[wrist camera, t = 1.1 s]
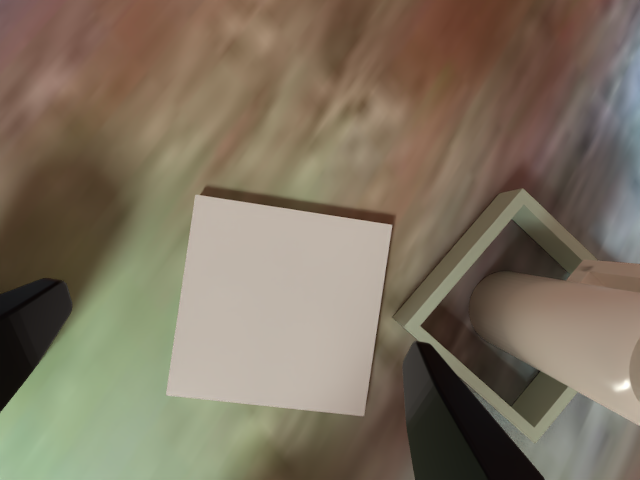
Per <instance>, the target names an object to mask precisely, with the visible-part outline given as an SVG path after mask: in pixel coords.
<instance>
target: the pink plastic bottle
mask: <svg viewBox="0 0 640 480" xmlns="http://www.w3.org/2000/svg"><path fill="white" fill-rule="evenodd" d="M469 317H470V321H471V323H472V326H473V328H474V329H475V331H476V332H477V334H478V335H479V336H480V337H481V338H483V339H484V340H486V341H487V342H489V343H491V344H493V345H494V346H496V347H498V348H500V349H502V350H503V351H505V352H507V353H509V354H511V355H512V356H514V357H516V358H518V359H520V360H521V361H523V362H525V363H527V364H529V365H530V366H532V367H534V368H536V369H538V370H539V371H541V372H543V373H545V374H547V375H549V376H550V377H552V378H554V379H556V380H558V381H559V382H561V383H563V384H565V385H567V386H568V387H570V388H572V389H574V390H576V391H577V392H579V393H581V394H583V395H585V396H586V397H588V398H590V399H592V400H594V401H595V402H597V403H599V404H601V405H603V406H604V407H606V408H608V409H610V410H612V411H614V412H615V413H617V414H619V415H621V416H623V417H624V418H626V419H628V420H630V421H632V422H633V423H635V424H637V425H639V426H640V264H633V263H621V262H609V261H597V260H583V261H582V262H581V263H580V264H579V266H578V267H577V268H576V269H575V270H574V272H573V273H572V274H571V275H570V276H569V277H568V279H567V280H566V281H565V280H559V279H553V278H547V277H541V276H535V275H529V274H523V273H517V272H510V271H501V272H496V273H493V274H491V275H489V276H487V277H485V278H484V279H483V280H482V281H481V282H480V283H479V284H478V285H477V286H476V288H475V289H474V291H473V293H472V295H471V298H470V302H469Z"/></svg>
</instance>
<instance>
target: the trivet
mask: <svg viewBox="0 0 640 480" xmlns="http://www.w3.org/2000/svg"><path fill="white" fill-rule="evenodd" d="M391 231H392V225H390V224H383V223H377V222H370V221H364V220H357V219H351V218H345V217H338V216H332V215H325V214H319V213H312V212H306V211H299V210H293V209H286V208H280V207H273V206H267V205H260V204H254V203H247V202H241V201H234V200H228V199H221V198H215V197H208V196H202V195H195V202H194V208H193V215H192V222H191V229H190V236H189V242H188V249H187V256H186V263H185V270H184V276H183V283H182V290H181V297H180V303H179V310H178V317H177V324H176V331H175V337H174V344H173V351H172V358H171V365H170V371H169V378H168V385H167V392H166V395H168V396H177V397H187V398H196V399H206V400H215V401H225V402H234V403H243V404H253V405H262V406H272V407H281V408H291V409H300V410H310V411H319V412H328V413H338V414H347V415H357V416H364V413H365V406H366V399H367V393H368V386H369V379H370V372H371V366H372V359H373V352H374V345H375V339H376V332H377V325H378V318H379V312H380V305H381V298H382V291H383V285H384V278H385V271H386V264H387V258H388V251H389V244H390V237H391Z"/></svg>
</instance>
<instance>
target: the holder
mask: <svg viewBox="0 0 640 480" xmlns="http://www.w3.org/2000/svg"><path fill="white" fill-rule="evenodd" d="M511 219H512V220H513V221H515V222H516V223H517V224H518V225H519V226H520V227H521V228H522V229H523V230H524V231H525V232H526V233H527V234H528V235H529V236H530V237H531V238H533V239H534V240H535V241H536V242H537V243H538V244H539V245H540V246H541V247H542V248H543V249H544V250H545V251H546V252H547V253H548V254H549V255H550V256H552V257H553V258H554V259H555V260H556V261H557V262H558V263H559V264H560V265H561V266H562V267H563V268H564V269H565V270H566V271H567V272H568V273H570V274H572V273H573V272H574V270H575V269H576V268H577V267H578V266H579V264H580V263H581V262H582V261H583V260H597V259H596V258H595V257H594V256H593V255H592V254H591V253H590V252H589V251H588V250H587V249H586V248H585V247H584V246H583V245H582V244H581V243H580V242H579V241H578V240H576V239H575V238H574V237H573V236H572V235H571V234H570V233H569V232H568V231H567V230H566V229H565V228H564V227H563V226H562V225H561V224H560V223H559V222H558V221H557V220H556V219H555V218H553V217H552V216H551V215H550V214H549V213H548V212H547V211H546V210H545V209H544V208H543V207H542V206H541V205H540V204H539V203H538V202H537V201H536V200H535V199H534V198H533V197H532V196H531V195H529V194H528V193H527V192H526V191H525V190H524V189H523V188H522V189H517V190H512V191H508V192H503V193H499V194H498V196H497V197H496V198H495V199H494V200H493V201H492V202H491V204H490V205H489V206H488V207H487V208H486V209H485V211H484V212H483V213H482V214H481V215H480V216H479V218H478V219H477V220H476V221H475V222H474V223H473V225H472V226H471V227H470V228H469V229H468V230H467V231H466V233H465V234H464V235H463V236H462V237H461V238H460V240H459V241H458V242H457V243H456V244H455V245H454V247H453V248H452V249H451V250H450V251H449V252H448V254H447V255H446V256H445V257H444V258H443V259H442V260H441V262H440V263H439V264H438V265H437V266H436V267H435V269H434V270H433V271H432V272H431V273H430V274H429V276H428V277H427V278H426V279H425V280H424V281H423V283H422V284H421V285H420V286H419V287H418V288H417V289H416V291H415V292H414V293H413V294H412V295H411V296H410V298H409V299H408V300H407V301H406V302H405V303H404V305H403V306H402V307H401V308H400V309H399V310H398V312H397V313H396V314H395V315H394V316H393V317H392V318H393V319H394V320H396V321H397V322H398V323H399V324H400V325H401V326H402V327H403V328H405V329H406V330H407V331H408V332H409V333H410V334H411V335H413V336H414V337H415V338H416V339H417V340H418V341H420V342H426V343H429V344H431V345H432V346H433V347H434V348H435V350H436V351H437V352H438V353H439V354H440V355H441V357H442V358H443V359H444V360H445V361H446V363H447V364H448V365H449V366H450V367H451V368H452V370H453V371H454V372H455V373H456V374H457V375H458V376H459V377H460V378H461V379H462V380H463V381H464V382H466V383H467V384H468V385H469V386H470V387H471V388H472V389H473V390H475V391H476V392H477V393H478V394H479V395H480V396H481V397H482V398H484V399H485V400H486V401H487V402H488V403H489V404H490V405H491V406H493V407H494V408H495V409H496V410H497V411H498V412H499V413H500V414H502V415H503V416H504V417H505V418H506V419H507V420H508V421H510V422H511V423H512V424H513V425H514V426H515V427H516V428H518V429H519V430H520V431H521V432H522V433H523V434H524V435H526V436H527V437H528V438H529V439H530V440H531V441H532V442H534V443H536V442H537V441H538V440H539V438H540V437H541V436H542V435H543V434H544V432H545V431H546V430H547V429H548V427H549V426H550V425H551V424H552V423H553V421H554V420H555V419H556V418H557V417H558V415H559V414H560V413H561V412H562V410H563V409H564V408H565V407H566V406H567V404H568V403H569V402H570V401H571V399H572V398H573V397H574V396H575V395H576V393H577V391H576V390H574V389H572V388H570V387H568V386H567V385H565V384H563V383H561V382H559V381H558V380H556V379H554V378H552V377H550V376H549V375H547V374H545V373H543V372H541V371H540V373H539V374H538V375H537V376H536V377H535V379H534V380H533V381H532V382H531V383H530V385H529V386H528V387H527V388H526V389H525V391H524V392H523V393H522V394H521V395H520V397H519V398H518V399H517V400H516V401H515V403H514V404H513V405H512V406H511V407H510V406H509V405H508V404H507V403H506V402H505V401H504V400H503V399H501V398H500V397H499V396H498V395H497V394H496V393H495V392H494V391H492V390H491V389H490V388H489V387H488V386H487V385H486V384H485V383H484V382H482V381H481V380H480V379H479V378H478V377H477V376H476V375H475V374H473V373H472V372H471V371H470V370H469V369H468V368H467V367H466V366H464V365H463V364H462V363H461V362H460V361H459V360H458V359H457V358H455V357H454V356H453V355H452V354H451V353H450V352H449V351H448V350H446V349H445V348H444V347H443V346H442V345H441V344H440V343H439V342H438V341H436V340H435V339H434V338H433V337H432V336H431V335H430V334H429V333H427V332H426V331H425V330H424V329H423V328H422V327H421V326H420V325H421V324H422V323H423V322H424V321H425V319H426V318H427V317H428V316H429V315H430V314H431V312H432V311H433V310H434V309H435V308H436V307H437V305H438V304H439V303H440V302H441V301H442V300H443V298H444V297H445V296H446V295H447V294H448V293H449V291H450V290H451V289H452V288H453V287H454V286H455V284H456V283H457V282H458V281H459V280H460V279H461V277H462V276H463V275H464V274H465V273H466V272H467V270H468V269H469V268H470V267H471V266H472V265H473V263H474V262H475V261H476V260H477V259H478V258H479V256H480V255H481V254H482V253H483V252H484V251H485V249H486V248H487V247H488V246H489V245H490V244H491V242H492V241H493V240H494V239H495V238H496V237H497V235H498V234H499V233H500V232H501V231H502V229H503V228H504V227H505V226H506V225H507V224H508V222H509V221H510V220H511ZM597 261H598V260H597Z"/></svg>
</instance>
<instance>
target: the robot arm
mask: <svg viewBox="0 0 640 480" xmlns="http://www.w3.org/2000/svg"><path fill="white" fill-rule="evenodd" d="M71 311H72V301H71V297H70V294H69V290H68V287H67V284H66V283H65V282H64V281H62V280H57V279H51V278H43V279H40V280H37V281H35V282H32V283H29V284H27V285H24V286H21V287H19V288H16V289H13V290H11V291H8V292H6V293H3V294H0V412H1V411H2V410H3V408H4V407H5V406H6V405H7V403H8V402H9V401H10V400H11V398H12V397H13V396H14V394H15V393H16V392H17V391H18V389H19V388H20V387H21V386H22V384H23V383H24V382H25V381H26V379H27V378H28V377H29V375H30V374H31V373H32V371H33V370H34V369H35V367H36V366H37V364H38V363H39V361H40V360H41V358H42V357H43V355H44V354H45V352H46V351H47V349H48V347H49V346H50V344H51V343H52V341H53V340H54V338H55V337H56V335H57V334H58V332H59V330H60V329H61V327H62V326H63V324H64V323H65V321H66V320H67V318H68V317H69V315H70V313H71ZM403 383H404V399H405V415H406V426H407V433H408V440H409V446H410V452H411V458H412V464H413V470H414V476H415V480H545V479H544V477H543V476H542V475H541V474H540V472H539V471H538V470H537V469H536V468H535V466H534V465H533V464H532V463H531V462H530V461H529V459H528V458H527V457H526V456H525V455H524V453H523V452H522V451H521V450H520V449H519V448H518V446H517V445H516V444H515V443H514V442H513V440H512V439H511V438H510V437H509V436H508V435H507V433H506V432H505V431H504V430H503V429H502V427H501V426H500V425H499V424H498V423H497V422H496V420H495V419H494V418H493V417H492V416H491V414H490V413H489V412H488V411H487V410H486V409H485V407H484V406H483V405H482V404H481V403H480V401H479V400H478V399H477V398H476V397H475V396H474V394H473V393H472V392H471V391H470V390H469V388H468V387H467V386H466V385H465V384H464V383H463V381H462V380H461V379H460V378H459V377H458V376H457V374H456V373H455V372H454V371H453V370H452V368H451V367H450V366H449V365H448V364H447V363H446V361H445V360H444V359H443V358H442V357H441V355H440V354H439V353H438V352H437V351H436V350H435V348H434V347H433V346H432V345H431V344H429V343H426V342H420V341H415V342H413V344H412V345H411V347H410V349H409V351H408V353H407V355H406V357H405V358H404V361H403Z"/></svg>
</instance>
